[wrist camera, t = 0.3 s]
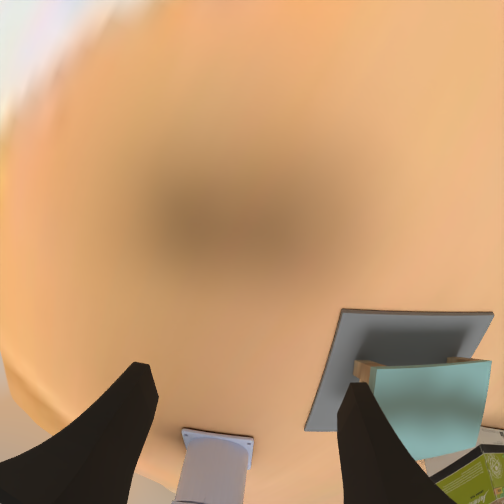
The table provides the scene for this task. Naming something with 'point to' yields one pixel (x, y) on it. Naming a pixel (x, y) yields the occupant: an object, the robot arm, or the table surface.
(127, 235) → the table surface
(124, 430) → the robot arm
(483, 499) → the tea box
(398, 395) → the footstool
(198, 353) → the table surface
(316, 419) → the floor mat
